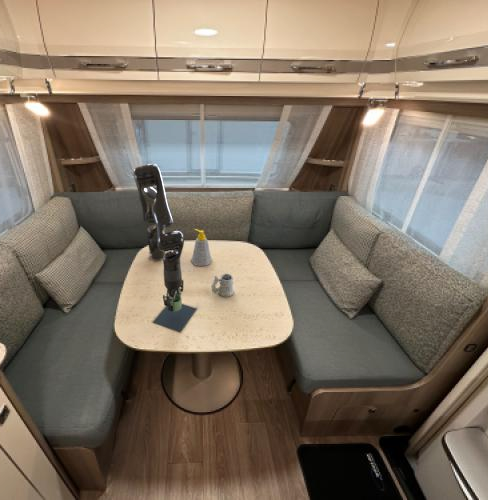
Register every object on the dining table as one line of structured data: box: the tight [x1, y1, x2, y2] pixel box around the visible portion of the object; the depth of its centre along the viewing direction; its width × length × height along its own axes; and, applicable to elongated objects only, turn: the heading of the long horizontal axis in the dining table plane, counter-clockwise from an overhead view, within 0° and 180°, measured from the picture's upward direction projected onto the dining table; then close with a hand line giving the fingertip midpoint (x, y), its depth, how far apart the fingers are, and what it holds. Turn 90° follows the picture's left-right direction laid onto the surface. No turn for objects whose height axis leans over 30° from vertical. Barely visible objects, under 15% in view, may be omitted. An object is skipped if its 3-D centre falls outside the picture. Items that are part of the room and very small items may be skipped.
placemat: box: [152, 303, 197, 333], centre depth 124 cm, size 16×14×1 cm
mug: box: [211, 273, 234, 298], centre depth 135 cm, size 8×12×12 cm, turn 110°
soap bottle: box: [191, 228, 212, 267], centre depth 160 cm, size 12×12×20 cm
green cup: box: [169, 294, 183, 312], centre depth 120 cm, size 6×6×6 cm
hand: (174, 305), depth 121 cm, fingers closed on green cup, 6 cm apart
